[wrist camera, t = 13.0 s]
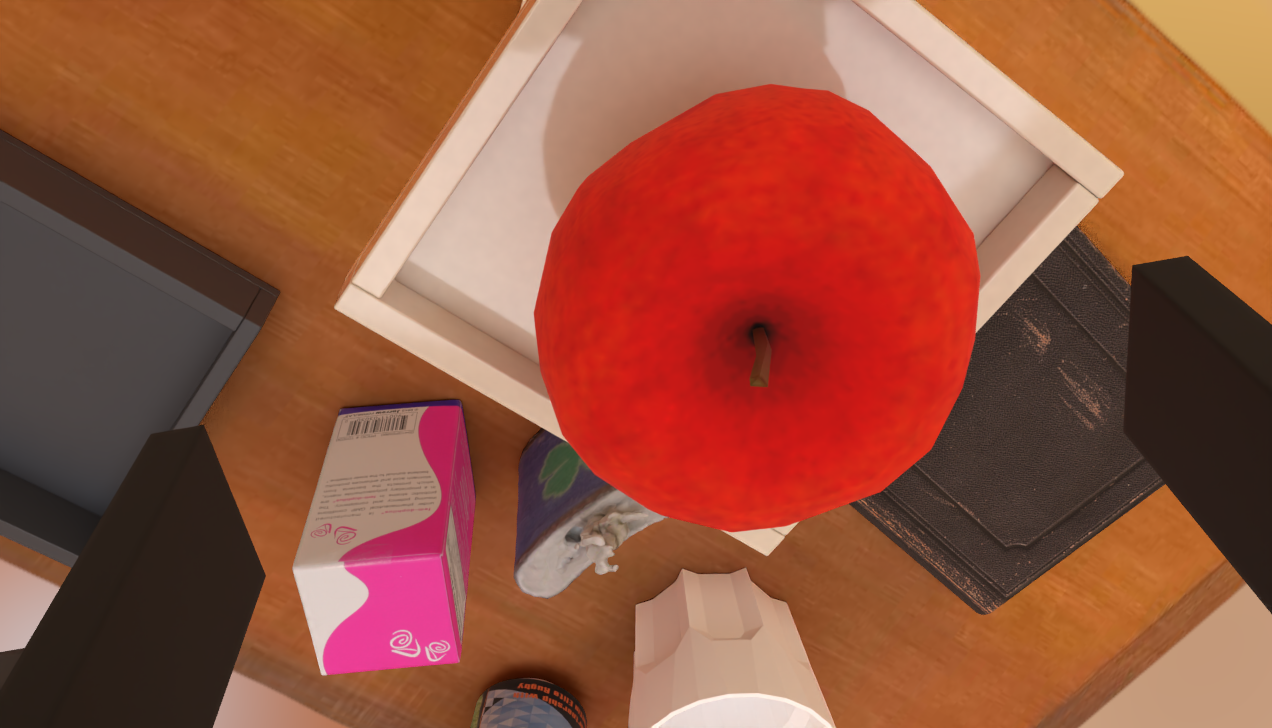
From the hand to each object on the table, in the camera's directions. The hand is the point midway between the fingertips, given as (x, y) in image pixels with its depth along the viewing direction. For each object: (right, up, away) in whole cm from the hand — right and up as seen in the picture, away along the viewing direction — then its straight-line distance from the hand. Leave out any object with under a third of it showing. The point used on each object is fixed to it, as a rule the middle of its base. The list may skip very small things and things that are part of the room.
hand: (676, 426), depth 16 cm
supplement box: (-11, -3, +38) cm, 40 cm away
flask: (-2, -1, +37) cm, 38 cm away
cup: (+3, -13, +44) cm, 46 cm away
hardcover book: (+14, +1, +37) cm, 40 cm away
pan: (-27, +2, +34) cm, 43 cm away
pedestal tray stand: (0, +14, +29) cm, 32 cm away
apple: (+1, +5, +12) cm, 13 cm away
